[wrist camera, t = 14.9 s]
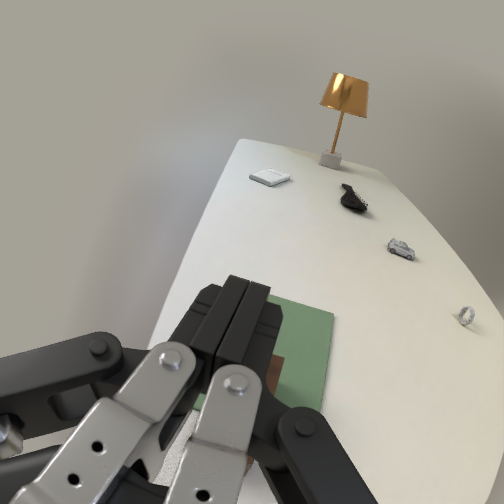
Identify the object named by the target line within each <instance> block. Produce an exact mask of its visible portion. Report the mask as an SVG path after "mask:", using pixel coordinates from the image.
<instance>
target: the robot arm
mask: <svg viewBox="0 0 504 504" xmlns="http://www.w3.org/2000/svg"><path fill="white" fill-rule="evenodd" d="M270 289H271V287H269V286H266V285H262V284H259V283H256V282H253V281H251V282H250V281H249V280H246V279H243V278H240V277H237V276H233V275H229V277H228V279H227V280H226V282H225V284H224V285H223V287H221V286H218V285H215V284H210V285H209V286H207V287H206V288H204V289H202V290H201V291H200V292H199V294H198V296H197V297H196V299H195V300H194V302H193V303H192V305H191V306H190V308H189V310H188V311H187V312H186V314H185V315H184V317H183V318H182V320H181V321H180V323H179V324H178V326H177V327H176V329H175V331H174V332H173V334H172V335H171V337H170V338H169V340H168V341H167V342H163V343H160V344H158V345H156V346H155V347H153V348H152V349H151V350H137V349H130V348H122V346H121V343H120V341H119V340H118V339H117V337H115V336H114V335H112V334H110V333H107V332H94V333H90V334H87V335H83V336H80V337H77V338H73V339H69V340H66V341H62V342H59V343H55V344H51V345H48V346H44V347H41V348H37V349H33V350H30V351H26V352H22V353H18V354H15V355H11V356H7V357H3V358H0V504H237V500H238V496H239V492H240V488H241V484H242V480H243V476H244V472H245V468H246V464H247V459H248V455H249V456H250V457H252V458H253V459H255V460H256V461H258V463H259V466H260V468H261V470H262V472H263V474H264V476H265V478H266V480H267V482H268V484H269V486H270V488H271V490H272V492H273V494H274V496H275V498H276V500H277V502H278V504H378V503H377V501H376V499H375V498H374V496H373V495H372V493H371V492H370V490H369V488H368V487H367V485H366V484H365V482H364V480H363V479H362V477H361V476H360V474H359V472H358V471H357V469H356V468H355V466H354V464H353V463H352V461H351V460H350V458H349V456H348V455H347V453H346V452H345V450H344V448H343V447H342V445H341V443H340V442H339V440H338V439H337V437H336V435H335V434H334V432H333V430H332V429H331V427H330V426H329V424H328V422H327V421H326V419H325V418H324V416H323V415H322V414H321V413H319V412H318V411H316V410H314V409H312V408H309V407H302V406H301V407H294V408H290V407H289V406H287V405H285V404H284V403H282V402H281V401H279V400H278V399H276V398H275V397H274V396H273V395H272V394H271V392H270V391H269V389H268V387H267V384H266V373H267V370H268V367H269V364H270V360H271V357H272V354H273V351H274V347H275V344H276V341H277V337H278V334H279V331H280V327H281V324H282V321H283V313H282V309H281V305H278V304H275V303H271V302H268V301H267V300H268V297H269V293H270ZM200 393H201V394H204V395H206V396H205V399H204V402H203V405H202V408H201V410H200V413H199V416H198V419H197V421H196V424H195V427H194V430H193V432H192V435H191V437H190V438H189V439H188V440H187V442H186V444H185V447H184V449H183V452H182V455H181V457H180V460H179V463H178V466H177V468H176V471H175V474H174V476H173V479H172V482H171V485H170V487H167V486H162V485H157V484H152V483H153V482H154V480H155V478H156V477H157V475H158V473H159V472H160V470H161V468H162V465H163V462H164V459H165V456H166V454H167V452H168V451H169V449H170V447H171V446H172V444H173V442H174V441H175V439H176V437H177V436H178V434H179V432H180V431H181V429H182V427H183V426H184V424H185V422H186V421H187V419H188V417H189V416H190V414H191V412H192V410H193V406H194V404H195V402H196V400H197V398H198V396H199V394H200ZM74 426H77V427H76V428H75V429H74V430H73V432H72V433H71V434H70V435H69V437H68V438H67V439H66V440H65V442H64V443H63V444H61V445H54V446H50V447H47V448H44V449H41V450H37V451H34V452H30V453H26V454H23V455H19V456H15V457H11V456H14V455H16V454H20V453H21V452H22V450H23V440H26V439H30V438H34V437H38V436H42V435H46V434H50V433H53V432H57V431H60V430H64V429H67V428H71V427H74ZM9 457H11V458H9Z"/></svg>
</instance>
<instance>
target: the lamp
mask: <svg viewBox="0 0 504 504" xmlns="http://www.w3.org/2000/svg"><path fill="white" fill-rule="evenodd" d="M368 90H369V83H368V82H366V81H363V80H360V79H357V78H354V77H350V76H346V75H343V74H338V73H333V74H332V76H331V79H330V81H329V83H328V86H327V88H326V90H325V93H324V95H323V97H322V100H321V102H320V105H323V106H326V107H329V108H332V109H335V110H338V111H341V115H340V119H339V123H338V127H337V131H336V135H335V139H334V142H333V146H332V150H331V151H330V150H327V149H323V152H322V155H321V159H320V163H319V165H322V166H326V167H329V168H333V169H336V170H338V169H339V165H340V162H341V154H340V153H337V152H334V150H335V146H336V142H337V139H338V135H339V131H340V127H341V123H342V119H343V115H344V112H345V113H348V114H352V115H356V116H359V117H364V118H367V106H368Z"/></svg>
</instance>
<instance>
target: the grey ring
mask: <svg viewBox="0 0 504 504" xmlns="http://www.w3.org/2000/svg"><path fill="white" fill-rule="evenodd" d="M468 308H469V311H470V317H469V319H468V320H467V321H466V323H464V321H463V315H464V314H465V313H466V311H467V310H468ZM458 315H459V321H460V323H461V324H463V325H468V324H470V323H471V322H472V321H473V319H474V316H475V313H474V310H473V308H472V307H470V306H469V307H462V309H461V310H460V312H459V313H458Z"/></svg>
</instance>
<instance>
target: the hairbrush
mask: <svg viewBox="0 0 504 504" xmlns="http://www.w3.org/2000/svg"><path fill="white" fill-rule="evenodd" d="M342 186H343V187H344V188H346V190H347V192H346V193H345V194H344V195H343V196H342V197H341V203H342V204H343V205H347V206H351V207H355V208H359V209H362V210H366V211H367V206H368V204H367V203H366V205H367V206H365V201H364V202H363V203H364V204H363V203H362V202H361V201H360V200H361V199H360V200H359V199H358V198H357V196H356V195H355V192H354V191H353V189H352V186H349V185H346V184H342ZM356 194H357V193H356ZM360 198H361V197H360Z"/></svg>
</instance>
